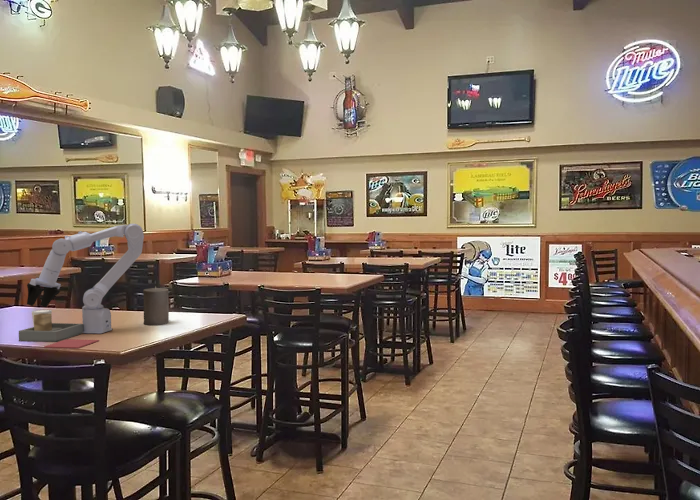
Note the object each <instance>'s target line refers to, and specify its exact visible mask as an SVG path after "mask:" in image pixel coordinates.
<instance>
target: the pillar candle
mask: <svg viewBox="0 0 700 500" xmlns="http://www.w3.org/2000/svg"><path fill="white" fill-rule="evenodd" d="M142 296H143V297H142V298H143V325H145V326H163V325H167V323H168V324H169V321H170V317H169V316H170V315H169V306H170V305H169V289H168V288H163V287H162V288H161V287H160V288H159V287H157V286H156V285H155V287H151V288H145V289H143V295H142Z"/></svg>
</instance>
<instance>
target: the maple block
mask: <svg viewBox="0 0 700 500" xmlns="http://www.w3.org/2000/svg"><path fill="white" fill-rule="evenodd" d="M52 321H53V319H52V314H42V313H41V314H37V315H34V325H33V327H34V331H51V330H52V323H53V322H52Z"/></svg>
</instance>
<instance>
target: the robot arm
mask: <svg viewBox="0 0 700 500" xmlns="http://www.w3.org/2000/svg"><path fill="white" fill-rule="evenodd" d="M113 237H118V238H119V237H120V238H124V237H125V240H126V241H127V242H126V243H127V248H128V249H127V250H126V252H125V253H123V255H122V256H121V257H120V258H119V259H118V260H117V262H115V264H114V265H113V266H112V267H111V268H110V269H109V270H108V271H107V272H106V273H105V275H104V276H103V277H102V278H101V279H100V280H99V281H98V282H96V284H95V285H93V287H92V288H89V289H87V290H86V291H85V292H84V294H83V297H82V302H83V306H82V307H81V308H82V309H81V312H82V313H81V314H82V319H81V320H82V324H84V332H82V333H83V334H104V333H106V332H110V331H112V330H113V328H112V312H111V310H110V309H109V308H107V307H106V308H105V307H104V305H103V304H102V302H103V298H104V297H105V296H106V295H107V293H108V292H109V290H110V289H111V288H112V287H113V286H114V285H115V284H116V283H117V282H118V280H120V278H121V277H122V276H123V275H124V274H125V272H127V270H128V269H130V267H131V266H132V265H133V264H134V263H135V261H137V259H138V258H140V256H141V255H142V252H143V246H144V239H145V235H144V231H143V228H142V226H141V225H139V224H137V223H129V224H122V225H120V224H119V225H115V226H111V227H108V228H105V229H102V230H99V231H95V232H92V233H90V232H88V231H81V230H80V231H78V232H77V233H75V234H72V235H69V236H68V235H65V236H64V238H58V239H56V240H54V241H53V243H52V246H51V247H52V248H51V250H50V252H49V254H48V256H47V258H46V259H45V261H44V265H43V267H42V269H41V272H40V274H39V277H36V278H31V279H30V282H27V284H26V287H27V300H26V305H27V306H28V305H29V306H30V307H33V306H34V305H35V303H36V302H37V300H38V298H39V296H40V295H41V294H42V293H43V294H42V298H41V300H40V306H41V307H43V308H47V307H48V305H49V304H50V303H51V301H53V299H54V298H55V297H56V296H57V295H59V294H60V292H61V290H60V288H61V285H62V284H61V283H58V282H57V280H58V278H59V275H60V273H61V271H62V268H63V266H64V263H65V259H66V257H67V254H68V253H69V252H75V251H79V250H84V249H87V248H89V247H91V246H92V245H93V243H94V242H97V241H101V240H104V239H109V238H113ZM41 287H43V288H41Z"/></svg>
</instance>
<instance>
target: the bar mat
mask: <svg viewBox="0 0 700 500" xmlns="http://www.w3.org/2000/svg"><path fill="white" fill-rule="evenodd" d="M97 342H100V340H99V339H81V338H80V339H70V338H67V339H64V340H61V341H58V342H52V343H50V344H47V345H44V347H43V348H45V349H49V348H50V349H81V348H83V347H84V348H85V347H87V346H90V345H91V344H95V343H97Z"/></svg>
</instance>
